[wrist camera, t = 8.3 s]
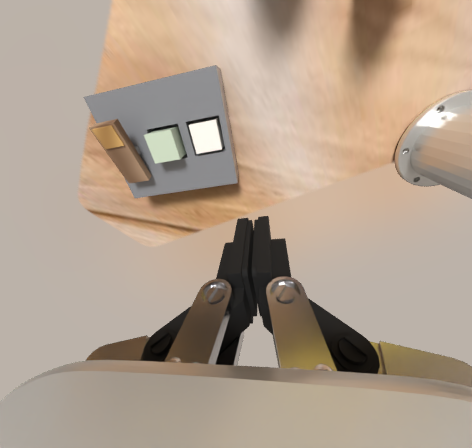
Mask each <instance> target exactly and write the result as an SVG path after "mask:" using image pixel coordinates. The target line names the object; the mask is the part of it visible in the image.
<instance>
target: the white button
mask: <svg viewBox="0 0 472 448" xmlns="http://www.w3.org/2000/svg"><path fill="white" fill-rule="evenodd" d="M189 128H190V132H191V136H192V139H193V143H194V146H195V150H196V154H199V153H204V152H210V151H216V150H222V148H223V147H224V145H225V144H224V139H223V134H222V129H221V124H220V119H219V117H218V118H213V119H208V120H203V121H198V122H194V123H192V124H190V125H189Z"/></svg>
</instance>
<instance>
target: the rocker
mask: <svg viewBox="0 0 472 448" xmlns="http://www.w3.org/2000/svg"><path fill="white" fill-rule="evenodd" d="M89 129H90V130H91V132H92V133H93V134H94V136H95V137H96V138H97V140H98V141H99V143H100V144H101V145H102V147H103V148H104V150H105V151H106V152H107V154H108V155H109V156H110V158H111V159H112V161H113V162H114V163H115V165H116V166H117V168H118V169H119V170H120V172H121V173H122V174H123V176H124V177H125V179H126V180H127V181H128V183H136V182H142V181H148V180H150V178H151V176H152V175H151V174H150V172H149V170H148V169H147V167H146V165H145V164H144V162H143V160H142V159H141V157H140V155H139V154H138V152H137V150H136V149H135V147H134V145H133V144H132V142H131V140H130V139H129V137H128V135H127V134H126V132H125V130H124V128H123V127H122V125H121V123H120V122H119V120H118V119H114V120H110V121H105V122H101V123H96V124H93V125H92V126H91V127H90V128H89Z"/></svg>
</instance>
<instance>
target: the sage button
mask: <svg viewBox="0 0 472 448" xmlns="http://www.w3.org/2000/svg"><path fill="white" fill-rule="evenodd" d="M144 137H145V140H146V142H147V145H148V147H149V150H150V152H151V155H152V157H153V160H154V162H155V164H156V163H162V162H167V161H173V160H179V159H181V158H182V157H183V156H184V155H185V154H186V150H185V146H184V143H183V140H182V137H181V133H180V130H179V127H178V126H177V127H172V128H167V129H162V130H157V131H153V132H150V133H148V134H145V135H144Z"/></svg>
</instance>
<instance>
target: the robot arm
mask: <svg viewBox="0 0 472 448" xmlns="http://www.w3.org/2000/svg"><path fill="white" fill-rule="evenodd" d="M395 167H396V170H397V172H398V174H399V175H400V176H401V177H402V178H403V179H405V180H406V181H407V182H409V183H411V184H413V185H418V186H435V185H440V184H441V185H443V186H445V187H447V188H450V189H452V190H454V191H456V192H458V193H460V194H462V195H464V196H467V197H469V198H471V199H472V90H467V91H461V92H457V93H454V94H452V95H449V96H447V97H445V98H443V99H441V100H439V101H437V102H435V103H434V104H432V105H431V106H430V107H428V108H427V109H425V110H424V111H423V112H422V113H421V114H420V115H419V116H417V117H416V118H415V120H414V121H413V122H412V123H411V124H410V125H409V126H408V128H407V129H406V131H405V132H404V134H403V135H402V137H401V139H400V141H399V143H398V146H397V149H396V152H395ZM257 303H258V308H259V313H260V316H262V319H263V324H264V327H265V328H267V330H269V332H270V333H272V334H273V339H274V345H275V350H276V355H277V361H278V366H279V368H270V367H252V366H237V365H238V360H239V356H240V350H241V346H242V342H243V338H244V330H245V329H246V328H247V327H249V325H250V323H253V316H257ZM0 448H472V366H470V365H468V364H467V363H465V362H463V361H460V360H457V359H455V358H452V357H447V356H442V355H439V354H434V353H430V352H425V351H421V350H417V349H412V348H408V347H404V346H400V345H395V344H391V343H386V342H382V341H380V342H379V343H375V342H370V341H368V340H367V339H366V338H365V337H363V336H362V335H361V334H359V333H358V332H356V331H355V330H354V329H352V328H351V327H349V326H348V325H346V324H345V323H343V322H342V321H341V320H339V319H338V318H336V317H335V316H333V315H332V314H330V313H329V312H327V311H326V310H324V309H323V308H322V307H320V306H319V305H317V304H316V303H314V302H313V301H311V300H310V299H308V298H307V295H306V293H305V290H304V288H303V286H302V285H301V283H300V282H298V281H297V280H295V279H294V278H291V273H290V267H289V261H288V254H287V248H286V241H285V239H272V240H271V235H270V226H269V217H268V216H263V217H258V220H255V224H254V229H253V223H252V220H248V218H242V219H238V220H237V225H236V231H235V236H234V241H233V242H231V243H226V244H225V246H224V250H223V254H222V258H221V262H220V266H219V270H218V274H217V278H216V279H214V280H211V281H208V282H207V283H205V284H204V285H203V286H202V287H201V289H200V290H199V292H198V294H197V296H196V298H195V300H194V302H193V304H192V306H191V307H189V308H188V309H187V310H186V311H184V312H183V313H181V314H180V315H179V316H177V317H176V318H174V319H173V320H172V321H170V322H169V323H168V324H166V325H165V326H164V327H162V328H161V329H160V330H158V331H157V332H156V333H154V334H153V335H152V336H151V337H148V336H147V335H146V336H142V337H137V338H133V339H129V340H125V341H120V342H116V343H112V344H107V345H104V346H102V347H99V348H98V349H96V350H95V351H94V352H92V353H91V355H90V356H89V357H88V358H87V359H86V361H82V362H75V363H71V364H67V365H63V366H60V367H57V368H54V369H52V370H49V371H47V372H44V373H42V374H40V375H38V376H36V377H34V378H32V379H30V380H28V381H26V382H25V383H23V384H21V385H20V386H18V387H17V388H16V389H14V390H13V391H12V392H10V393H9V394H8V395H7V396H6V397H5V398H4V399H3V400H1V402H0Z"/></svg>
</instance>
